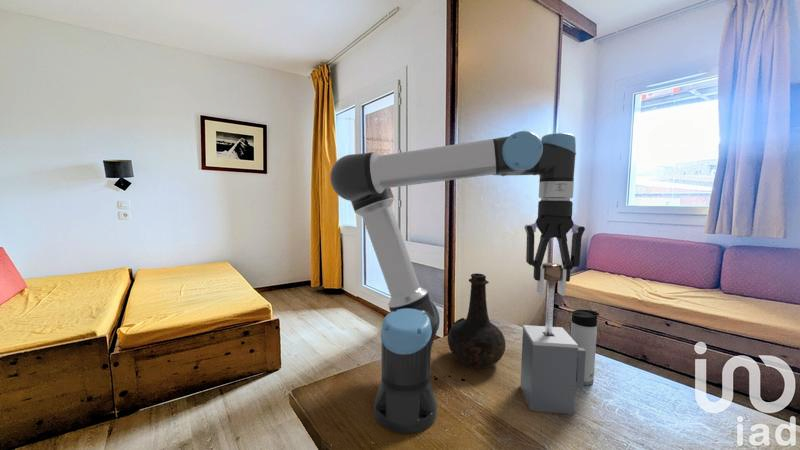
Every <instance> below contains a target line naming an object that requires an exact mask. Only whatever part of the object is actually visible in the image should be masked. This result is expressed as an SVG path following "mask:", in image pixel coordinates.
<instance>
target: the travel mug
mask: <svg viewBox="0 0 800 450" xmlns="http://www.w3.org/2000/svg"><path fill="white" fill-rule="evenodd" d="M598 316H599V317H600V313H599V312H598V311H596V310H589V309H575V310H573V311H572V312H571V320H570V321H571V322H570V336H571V338H572V339H573V340H574V341H575V342H576V343H577V344H578V348H584V350H585V351H586V355H585V371H584V386H590V385H593V384H594V380H595V379H594V378H595V362H596V347H597V336H598V335H597V333H598V332H597V331H598V330H597V329H598Z"/></svg>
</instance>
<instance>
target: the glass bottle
mask: <svg viewBox="0 0 800 450" xmlns="http://www.w3.org/2000/svg"><path fill="white" fill-rule="evenodd" d="M470 276H471V277H470V278H468V282H469V283H471V284H470V296H469V297H470V298H469V306H468V312H467V315H466V318H465V317H461V318H459V319H457V320H456V321H454V322H453V323H452V326H451V327H450V329H449V331H448V334H447V345H448V347H449V350H450V351H451V354H452V355H453V356H454V358H455V359H456V360H457V361H458V362H460V363H461V364H462V365H464V366H466V367H470V368H473V369H487V368H490V367H492V366H494V365H496V364H497V363H498V362H499V361H500V360H501V359H502V358H503V356H504V354H505V351H506V346H507V345H506V339H505V336H504V334H503V332H502V331H501V329H500V328H499V327H498V326H496V325H495V324H494V323H492V322H491V320H490V319H489V313H488V307H487V306H488V304H487V290H486V289H487V288H486V287H487V286H486V285H487V284H489V283H490V282H489V281H488V280H487V276H486V275H485V274H483V273H479V272H478V273H475V272H474V273H472V274H470Z"/></svg>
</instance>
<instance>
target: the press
mask: <svg viewBox="0 0 800 450" xmlns="http://www.w3.org/2000/svg"><path fill="white" fill-rule="evenodd" d="M545 326H546V325H542V326H541V325H531V324H530V325H529V324H528V325H527V324H526V325H525V324H524V325H522V341H521V343H522V344H521V345H522V346H521V364H520V366H521V367H520V388H521V392H522V393H523V395H524V398H525V401H526V404H527V406H528V409H529V410H530V411H535V412H536V411H537V412H546V413H556V414H558V413H559V414H567V415H574V414H575V400H576V389H577V390H584V388H585V387H584V386H585V385H584V371H585V355H586V351H585V350H584V348H578V344H577V343H576V342H575V341H574V340H573V339H572V338H571V334H569V333H568V332H567V330H565V328H564V327H562V326H561V327H559V326H553V327H552V336H545Z"/></svg>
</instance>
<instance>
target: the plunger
mask: <svg viewBox="0 0 800 450" xmlns="http://www.w3.org/2000/svg"><path fill="white" fill-rule="evenodd" d="M541 267H542V268H544V281H545V280H546V281H547V289H546V309H545V325H544V326H545V336H552V327H554V326H553V323H554V307H555V306H554V304H555V302H554V301H555V284H556V282H559V281H561V276H562V267H563V264H560V263H553V262H542V265H541Z"/></svg>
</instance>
